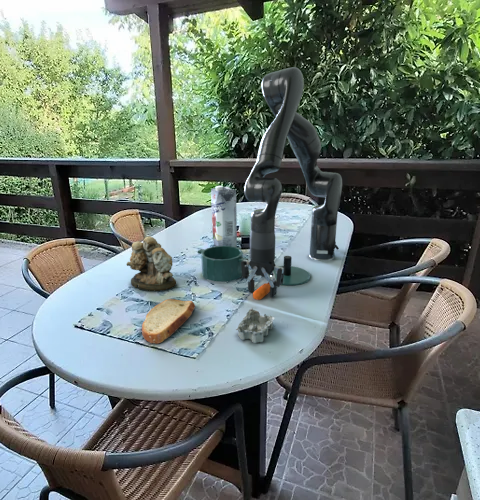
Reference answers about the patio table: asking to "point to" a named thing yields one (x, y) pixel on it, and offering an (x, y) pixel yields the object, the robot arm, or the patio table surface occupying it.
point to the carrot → (261, 291)
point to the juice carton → (224, 216)
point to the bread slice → (166, 319)
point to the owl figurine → (151, 266)
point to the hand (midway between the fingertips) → (261, 294)
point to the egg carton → (254, 326)
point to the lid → (293, 274)
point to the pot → (221, 263)
